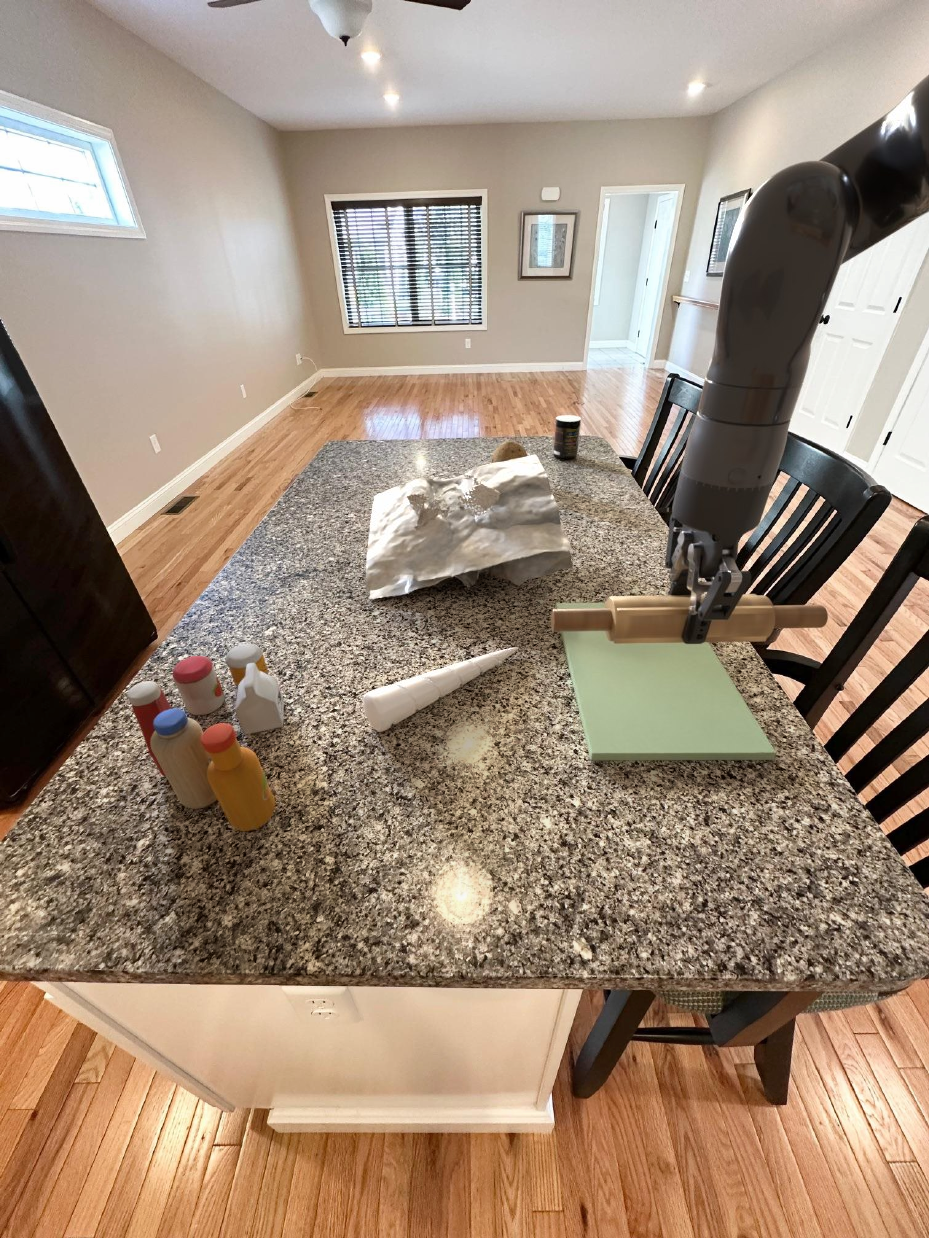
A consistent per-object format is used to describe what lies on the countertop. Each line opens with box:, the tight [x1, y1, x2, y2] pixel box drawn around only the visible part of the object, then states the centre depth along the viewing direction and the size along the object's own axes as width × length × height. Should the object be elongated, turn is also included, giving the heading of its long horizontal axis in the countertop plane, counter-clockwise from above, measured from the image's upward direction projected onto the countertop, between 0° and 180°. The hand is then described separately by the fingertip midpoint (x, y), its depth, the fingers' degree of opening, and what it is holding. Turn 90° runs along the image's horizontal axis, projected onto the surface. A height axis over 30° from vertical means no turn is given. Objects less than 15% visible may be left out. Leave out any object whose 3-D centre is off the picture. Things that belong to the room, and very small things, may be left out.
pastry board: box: [554, 602, 777, 761], centre depth 69 cm, size 30×20×1 cm, turn 179°
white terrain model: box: [365, 454, 574, 600], centre depth 95 cm, size 35×16×32 cm
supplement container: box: [552, 414, 582, 462], centre depth 140 cm, size 7×7×10 cm
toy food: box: [126, 643, 285, 832], centre depth 57 cm, size 27×13×12 cm, turn 15°
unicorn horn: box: [362, 646, 520, 733], centre depth 65 cm, size 5×24×5 cm, turn 124°
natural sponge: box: [490, 440, 528, 464], centre depth 125 cm, size 9×9×10 cm
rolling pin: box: [550, 593, 829, 644], centre depth 54 cm, size 28×5×5 cm, turn 90°
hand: (683, 626), depth 55 cm, fingers closed on rolling pin, 4 cm apart
